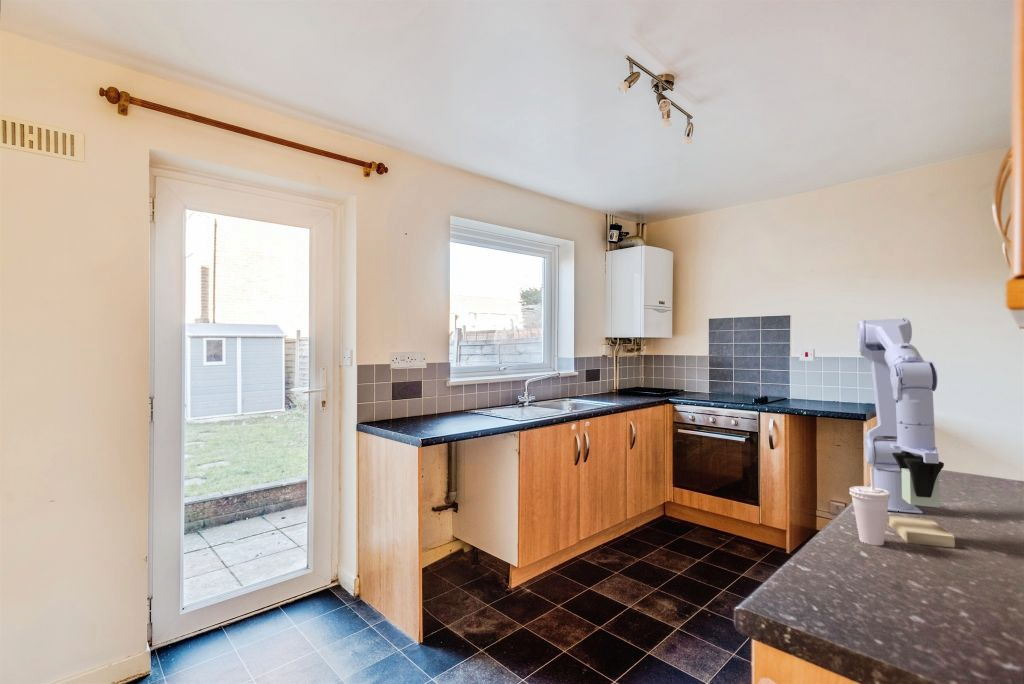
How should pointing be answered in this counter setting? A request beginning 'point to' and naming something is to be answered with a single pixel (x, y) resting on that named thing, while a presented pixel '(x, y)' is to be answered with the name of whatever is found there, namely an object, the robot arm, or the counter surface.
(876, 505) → the smoothie
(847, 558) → the counter surface
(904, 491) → the sage block
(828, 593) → the counter surface
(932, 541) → the oak slab
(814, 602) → the counter surface
